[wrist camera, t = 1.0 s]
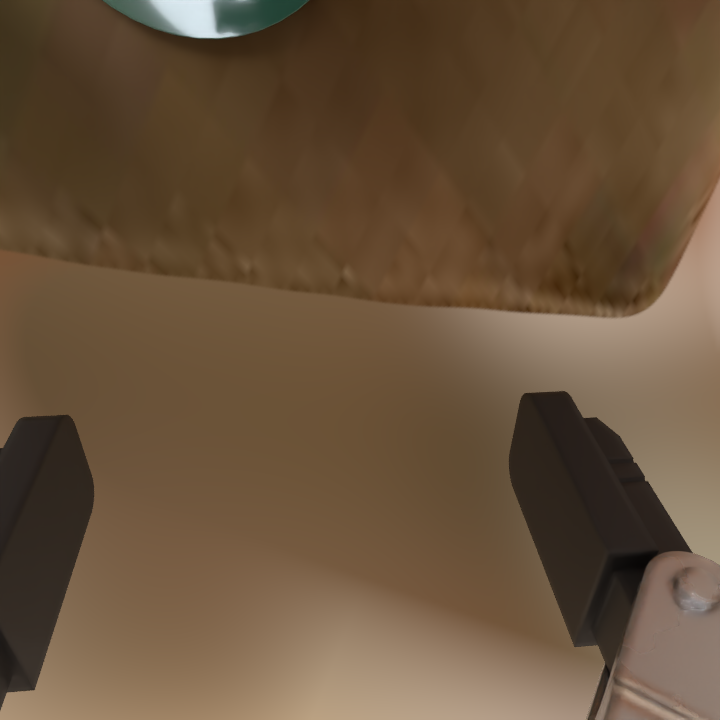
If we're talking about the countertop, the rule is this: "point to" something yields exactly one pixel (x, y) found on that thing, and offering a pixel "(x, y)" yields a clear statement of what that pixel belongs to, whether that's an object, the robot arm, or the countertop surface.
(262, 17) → the lid
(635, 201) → the countertop surface
